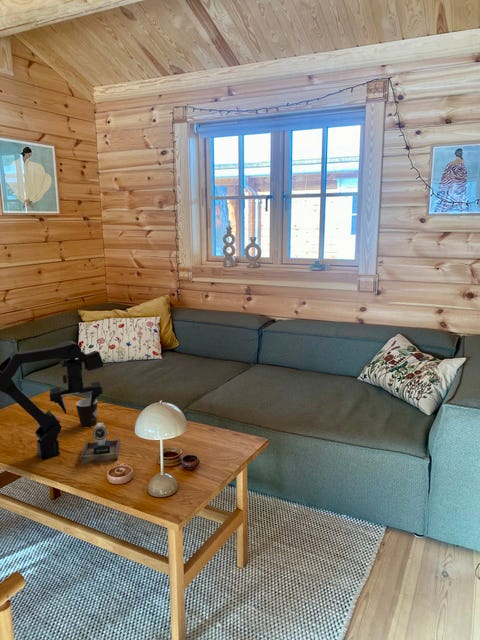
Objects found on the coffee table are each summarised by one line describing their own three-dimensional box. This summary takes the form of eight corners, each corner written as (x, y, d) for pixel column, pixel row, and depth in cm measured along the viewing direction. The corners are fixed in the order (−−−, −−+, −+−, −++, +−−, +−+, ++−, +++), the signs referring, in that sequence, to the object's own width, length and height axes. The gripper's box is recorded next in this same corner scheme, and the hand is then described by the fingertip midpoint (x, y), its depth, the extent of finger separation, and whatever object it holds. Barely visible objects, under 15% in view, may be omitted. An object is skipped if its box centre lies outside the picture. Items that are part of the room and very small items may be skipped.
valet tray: (81, 463, 166) (80, 457, 165) (86, 448, 177) (85, 442, 176) (117, 460, 168) (116, 453, 167) (120, 445, 179) (120, 438, 178)
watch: (94, 458, 168) (91, 429, 165) (95, 447, 175) (92, 420, 173) (110, 456, 169) (107, 427, 167) (110, 445, 177) (108, 418, 174)
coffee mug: (86, 430, 192) (83, 407, 190) (73, 425, 197) (71, 403, 195) (109, 420, 201) (107, 398, 199) (97, 416, 206) (95, 394, 204)
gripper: (98, 362, 185) (101, 397, 190) (47, 369, 178) (52, 405, 183) (101, 374, 175) (104, 410, 180) (47, 381, 168) (52, 419, 173)
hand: (78, 411), depth 179 cm, fingers open, 9 cm apart
